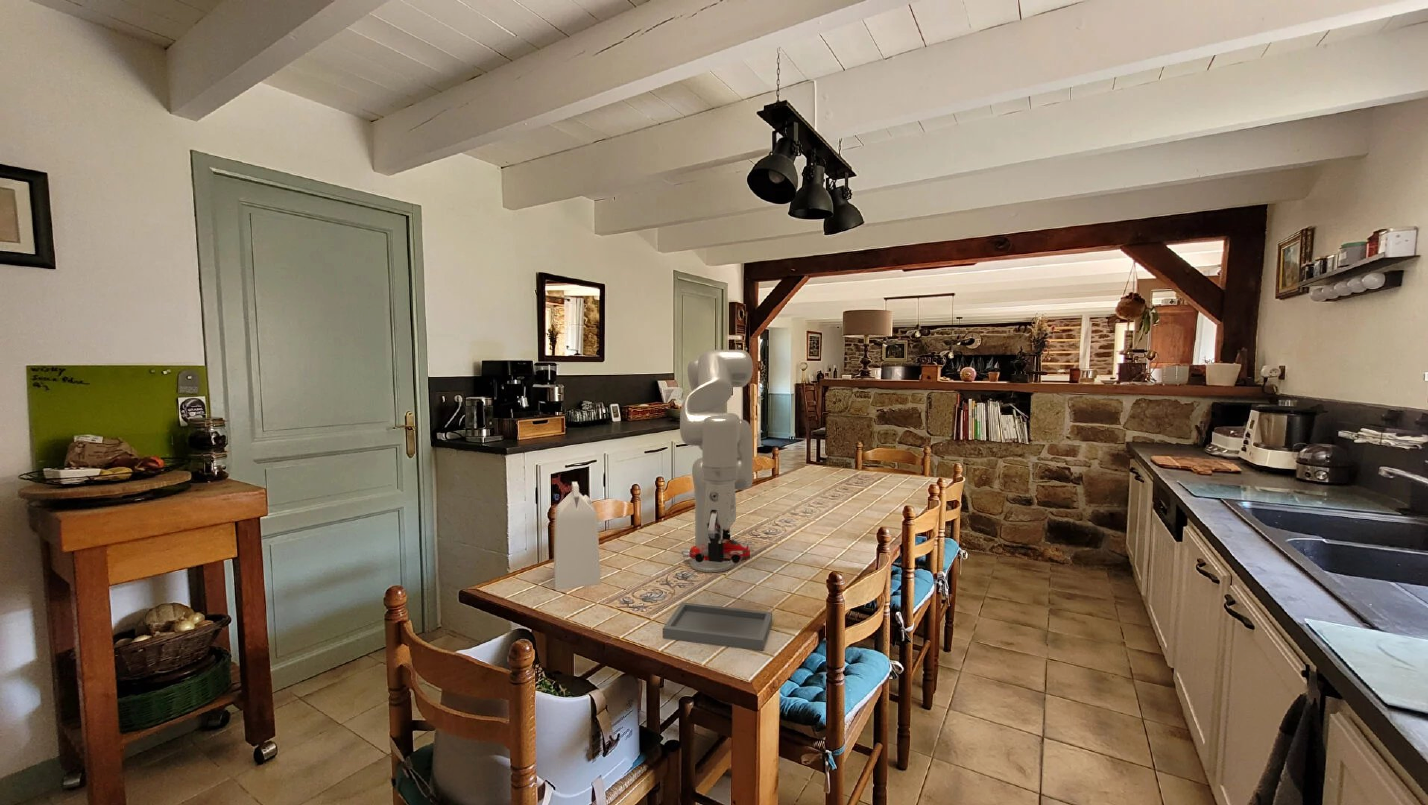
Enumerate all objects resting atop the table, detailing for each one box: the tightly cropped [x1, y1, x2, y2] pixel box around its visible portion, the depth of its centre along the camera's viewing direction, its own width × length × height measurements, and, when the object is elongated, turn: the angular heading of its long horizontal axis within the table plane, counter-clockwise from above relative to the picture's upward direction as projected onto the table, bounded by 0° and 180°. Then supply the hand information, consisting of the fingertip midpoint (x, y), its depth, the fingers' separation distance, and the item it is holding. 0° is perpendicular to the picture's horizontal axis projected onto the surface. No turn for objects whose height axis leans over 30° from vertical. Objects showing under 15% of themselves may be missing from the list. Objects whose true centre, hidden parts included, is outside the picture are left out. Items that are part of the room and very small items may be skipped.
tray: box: [662, 601, 773, 652], centre depth 121 cm, size 21×13×2 cm, turn 76°
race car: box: [689, 539, 751, 564], centre depth 120 cm, size 13×5×4 cm, turn 85°
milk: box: [553, 481, 601, 591], centre depth 149 cm, size 12×12×26 cm
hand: (719, 555), depth 120 cm, fingers closed on race car, 5 cm apart
